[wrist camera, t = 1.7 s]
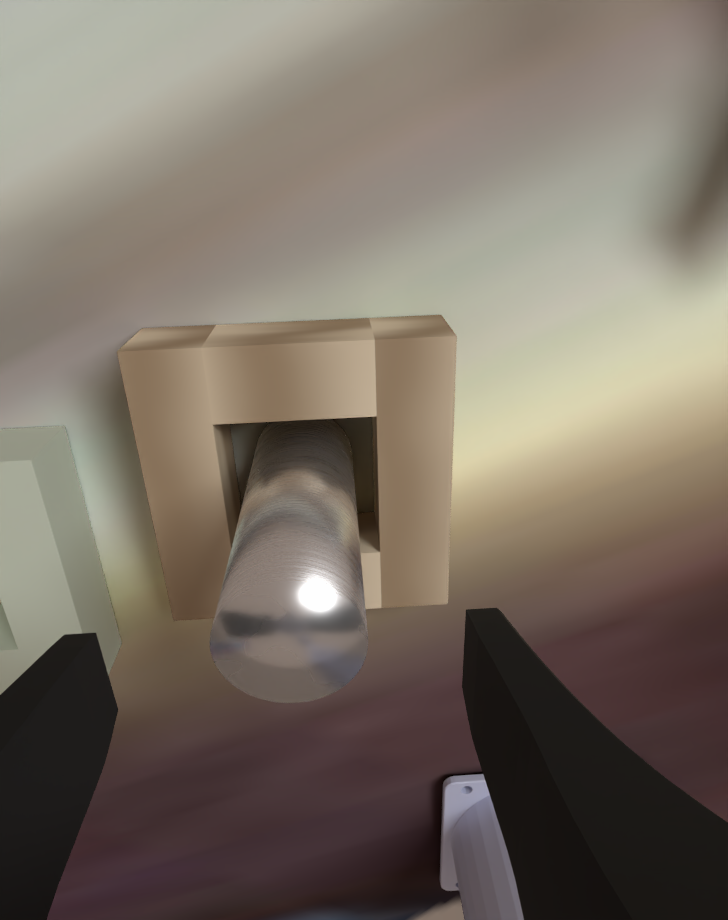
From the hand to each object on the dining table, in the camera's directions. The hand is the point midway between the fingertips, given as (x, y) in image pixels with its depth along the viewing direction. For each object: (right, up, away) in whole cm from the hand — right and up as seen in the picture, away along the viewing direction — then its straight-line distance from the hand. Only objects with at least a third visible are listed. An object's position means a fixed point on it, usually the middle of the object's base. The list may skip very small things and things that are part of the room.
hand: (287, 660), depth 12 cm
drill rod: (-1, +4, +8) cm, 9 cm away
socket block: (-1, +4, +8) cm, 9 cm away
